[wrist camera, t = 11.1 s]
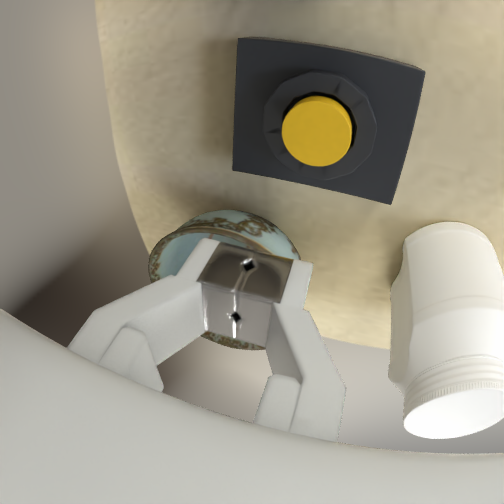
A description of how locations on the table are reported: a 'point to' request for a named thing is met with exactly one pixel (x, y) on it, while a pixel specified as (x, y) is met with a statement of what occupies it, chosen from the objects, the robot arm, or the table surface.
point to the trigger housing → (337, 88)
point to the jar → (448, 332)
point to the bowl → (224, 230)
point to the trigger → (317, 131)
